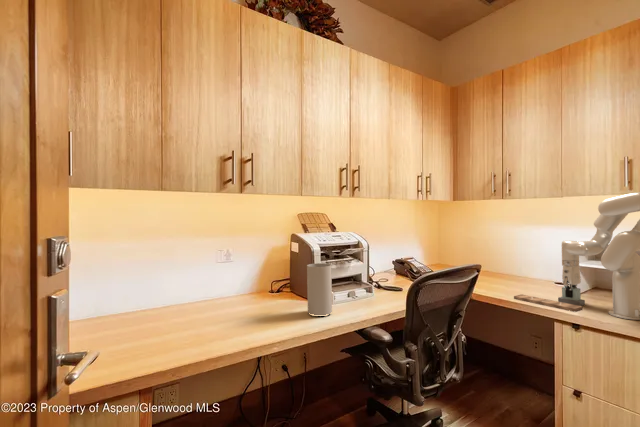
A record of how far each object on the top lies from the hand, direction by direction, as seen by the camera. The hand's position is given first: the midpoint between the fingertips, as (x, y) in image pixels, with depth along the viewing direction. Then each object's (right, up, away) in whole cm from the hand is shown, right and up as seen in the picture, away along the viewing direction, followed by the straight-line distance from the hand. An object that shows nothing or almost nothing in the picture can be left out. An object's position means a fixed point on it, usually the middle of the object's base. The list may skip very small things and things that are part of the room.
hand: (571, 296), depth 175 cm
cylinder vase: (-138, -6, -11) cm, 139 cm away
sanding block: (0, -4, 0) cm, 4 cm away
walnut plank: (-14, -4, 0) cm, 14 cm away
